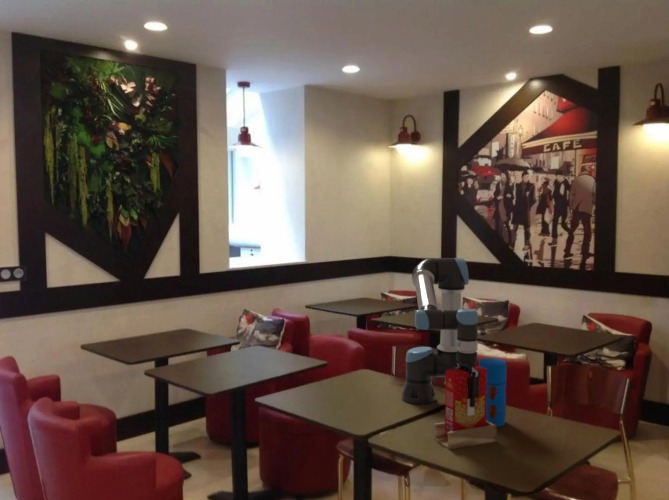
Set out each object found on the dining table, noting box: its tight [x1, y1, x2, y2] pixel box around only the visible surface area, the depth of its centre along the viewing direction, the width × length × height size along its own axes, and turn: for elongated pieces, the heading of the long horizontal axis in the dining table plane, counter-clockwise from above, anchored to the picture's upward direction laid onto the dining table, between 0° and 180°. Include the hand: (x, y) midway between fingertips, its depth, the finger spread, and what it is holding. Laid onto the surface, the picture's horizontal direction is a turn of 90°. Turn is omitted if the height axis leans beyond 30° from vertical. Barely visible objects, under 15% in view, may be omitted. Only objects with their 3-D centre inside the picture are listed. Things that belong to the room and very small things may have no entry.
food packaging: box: [444, 365, 487, 438], centre depth 227 cm, size 15×5×25 cm, turn 115°
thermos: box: [478, 357, 507, 427], centre depth 246 cm, size 11×11×25 cm
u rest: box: [433, 420, 498, 450], centre depth 227 cm, size 10×20×6 cm, turn 111°
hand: (465, 412), depth 227 cm, fingers closed on food packaging, 5 cm apart
